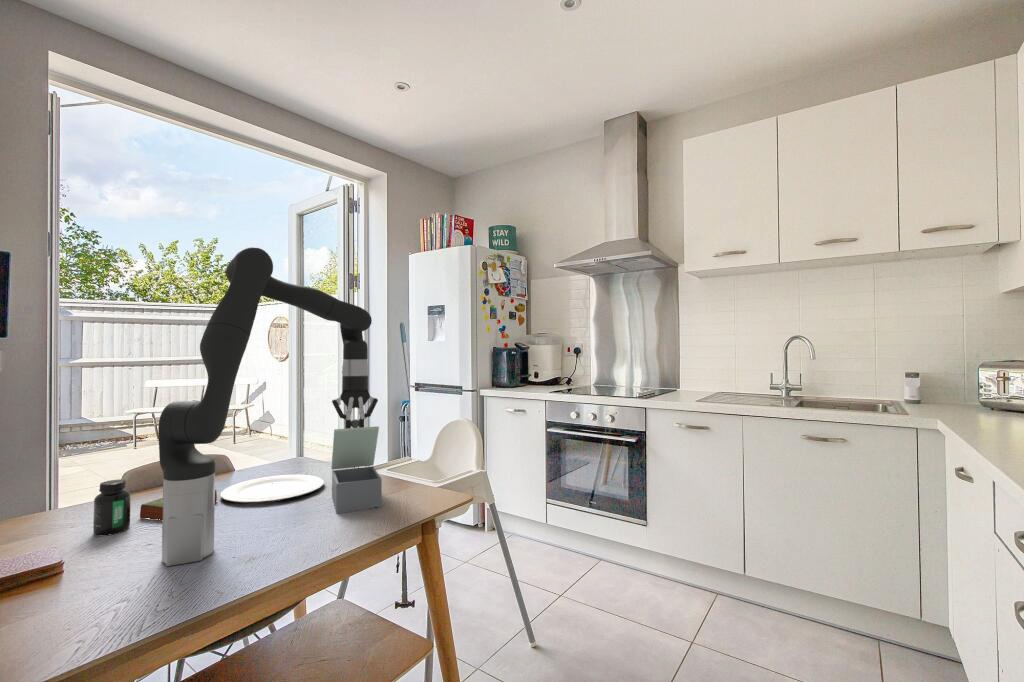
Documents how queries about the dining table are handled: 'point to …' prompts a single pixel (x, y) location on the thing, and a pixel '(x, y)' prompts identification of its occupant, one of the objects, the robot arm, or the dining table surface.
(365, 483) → the box
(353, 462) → the lid
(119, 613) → the dining table surface
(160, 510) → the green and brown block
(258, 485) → the plate
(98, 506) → the supplement bottle
